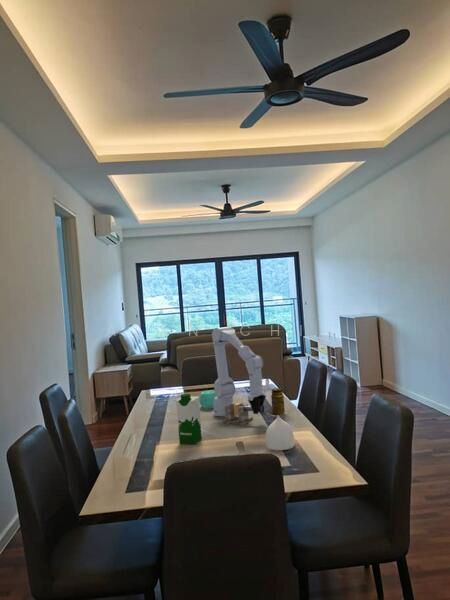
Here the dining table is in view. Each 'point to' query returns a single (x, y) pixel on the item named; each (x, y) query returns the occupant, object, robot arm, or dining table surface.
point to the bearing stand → (241, 416)
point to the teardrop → (279, 435)
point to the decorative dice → (207, 399)
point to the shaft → (249, 408)
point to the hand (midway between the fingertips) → (257, 412)
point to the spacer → (237, 407)
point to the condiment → (277, 402)
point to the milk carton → (188, 419)
